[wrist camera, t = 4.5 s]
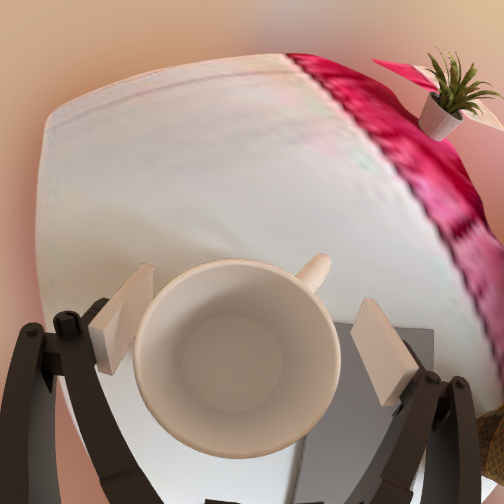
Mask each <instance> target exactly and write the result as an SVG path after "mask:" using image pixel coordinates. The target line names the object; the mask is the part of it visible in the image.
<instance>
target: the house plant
mask: <svg viewBox="0 0 504 504" xmlns="http://www.w3.org/2000/svg"><path fill="white" fill-rule="evenodd" d="M447 52H448V51H447ZM440 53H441V52H440ZM448 53H449V52H448ZM428 55H429V57H430V58H431V60H432V64H433V67H434V69H435V71H436V73H437V74H436V73H435V72H434V71H432V70H430V69H426V70H429V72H430V71H431V72H432V73H434V74H435V75H436V76H435V77H436V79H437V80H438V81H439V85H440V89H439V90H437V91H439V92H440V94H438V93H436V92H430V93H429V95H428V98H427V100H426V103H425V106H424V108H423V111H422V113H421V116H420V118H419V121H418V125H419V127H420V128H421V130H422V131H423V132H424V133H425V134H426V135H427V136H429V137H430V138H431V139H433V140H435V141H441V140H443V139H444V138H445V137H446V136H447V135H448V134H449V133H450V132H451V131H453V130H454V129H455V128H456V127H457V126H458V125H459V124H460V123H462V122H463V116H462V114H461V113H460V112H459V110H461V109H465V110H469V111H471V112H473V113H474V115H475V114H477V113H476V111H475V110H474V109H473V108H471V107H474V108H477V109H479V110H480V108H479V107H478V106H477V105H476V104H475V103H473V102H467V101H470V100H473V99H479V98H490V97H476V96H480V95H485V94H492V95H498V96H500V97H502V96H501V95H499V94H498V93H496V92H493V91H479V92H477V93H474V94H471V95H469V96H467V95H468V93H471V92H473V91H474V90H478V89H479V88H476V86H477V85H478V84H479V83H486V82H480V81H476V82H475V83H473V84H472V85H471V86H470V87H467V86H466V84H467V83H468V82H469V81H470V80H471V78H472V77H474V76H475V74H476V71H477V69H473V67H474V66H473V65H474V64H472V66H471V68H470V70H469V71H468V72H467V73H466V75H465V77H464V79H463V81H462V82H461V84H460V80H461V65H460V61H459V59H458V61H459V70H460V71H459V80H458V67H457V64H456V62H455V60H454V58H453V57H452V56H451V55H450V53H449V55H450V57H451V59H452V61H453V62H452V61H451V62H452V64H451V63H450V64H451V69H450V75H451V82H450V84H449V88H448V86H447V83H446V79H445V76H444V74H443V72H442V70H441V68H440V66H439V65H438V63H437V62H436V60H435V59H434V58H433V57H432V56H431V55H430V54H429V53H428ZM441 55H442V54H441ZM443 58H444V57H443ZM457 58H458V56H457ZM444 61H445V60H444ZM445 64H446V62H445ZM446 68H447V65H446ZM447 73H448V68H447ZM448 81H449V73H448ZM487 84H489V83H487ZM459 85H460V86H459ZM489 85H490V84H489ZM466 87H467V88H466ZM448 93H449V94H448ZM466 96H467V97H466ZM474 97H476V98H474ZM502 98H503V97H502ZM481 112H482V111H481ZM482 115H483V113H482ZM478 117H479V116H478Z"/></svg>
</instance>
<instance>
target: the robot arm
mask: <svg viewBox="0 0 504 504" xmlns="http://www.w3.org/2000/svg"><path fill="white" fill-rule="evenodd" d="M153 288H154V266H153V265H148V264H143V263H142V264H141V265H140V266H139V267H138V269H137V270H136V271H135V272H134V273H133V274H132V275H131V276H130V277H129V278H128V280H127V281H126V282H125V283H124V284H123V285H122V286H121V287H120V289H119V290H118V291H117V292H116V293H115V294H114V295H113V297H112V298H111V299H106V298H102V299H100V300H98V301H96V302H95V303H94V304H93V305H92V306H91V308H89V309H88V310H87V313H85V314H84V315H83V316H82V317H81V318H80V316H79V314H78V313H76V312H74V311H63V312H60V313H58V314H57V315H56V316H55V317H54V319H53V324H54V328H55V331H56V333H46V332H45V331H44V328H43V326H42V325H41V324H38V323H35V322H34V323H29V324H26V325H25V326H23V327H22V329H21V330H20V333H19V336H18V339H17V342H16V345H15V349H14V352H13V356H12V359H11V363H10V367H9V371H8V375H7V379H6V384H5V388H4V394H3V399H2V405H1V411H0V504H61V498H60V491H59V484H58V476H57V468H56V467H57V466H56V452H55V396H56V382H57V375H59V376H65V381H66V385H67V389H68V393H69V397H70V400H71V404H72V407H73V411H74V414H75V417H76V420H77V423H78V426H79V429H80V432H81V435H82V438H83V440H84V443H85V446H86V448H87V451H88V453H89V456H90V458H91V460H92V463H93V465H94V467H95V470H96V472H97V474H98V476H99V479H100V484H101V487H102V489H103V491H104V493H105V495H106V497H107V499H108V501H109V503H110V504H164V503H163V501H162V500H161V498H160V497H159V496H158V494H157V493H156V491H155V490H154V488H153V487H152V485H151V483H150V482H149V480H148V479H147V477H146V476H145V474H144V472H143V471H142V470H141V468H140V467H139V465H138V464H137V462H136V460H135V458H134V456H133V455H132V453H131V451H130V449H129V447H128V445H127V443H126V441H125V439H124V438H123V435H122V433H121V431H120V429H119V427H118V425H117V423H116V421H115V419H114V416H113V414H112V412H111V410H110V407H109V405H108V403H107V400H106V398H105V395H104V393H103V390H102V388H101V385H100V382H99V380H98V377H97V374H96V371H95V368H94V366H95V364H97V368H98V371H99V372H102V373H105V374H108V375H111V376H113V374H114V372H115V370H116V368H117V367H118V365H119V363H120V361H121V359H122V358H123V356H124V354H125V352H126V350H127V349H128V347H129V345H130V343H131V342H132V340H133V338H134V336H135V335H136V333H137V329H138V326H139V324H140V321H141V319H142V317H143V315H144V313H145V311H146V309H147V307H148V306H149V304H150V303H151V301H152V300H153V299H154V293H153ZM350 334H351V336H352V338H353V340H354V342H355V345H356V347H357V349H358V351H359V354H360V356H361V358H362V361H363V363H364V365H365V367H366V370H367V372H368V374H369V377H370V379H371V382H372V384H373V386H374V389H375V391H376V394H377V396H378V399H379V401H380V404H381V406H392V405H394V404H395V402H396V401H397V400H398V398H400V401H401V404H400V405H399V407H398V408H397V409H396V411H395V412H394V413H393V414H392V417H393V416H394V417H393V420H392V422H391V424H390V426H389V428H388V430H387V432H386V434H385V436H384V438H383V440H382V442H381V444H380V446H379V448H378V450H377V452H376V454H375V455H374V457H373V459H372V461H371V463H370V464H369V466H368V468H367V469H366V471H365V473H364V474H363V476H362V478H361V479H360V481H359V482H358V484H357V485H356V487H355V489H354V490H353V492H352V493H351V495H350V496H349V497H348V499H347V500H346V501H345V503H344V504H410V502H411V500H412V497H413V491H410V487H411V484H412V482H413V480H414V477H415V475H416V472H417V469H418V467H419V464H420V461H421V459H422V456H423V453H424V450H425V447H426V444H427V447H426V462H425V472H424V481H423V489H422V496H421V502H420V504H481V460H480V447H479V438H478V430H477V423H476V417H475V411H474V405H473V400H472V395H471V390H470V386H469V384H468V382H467V381H466V380H465V379H464V378H463V377H460V376H455V377H453V378H452V380H451V381H450V383H449V382H443V381H441V379H440V377H439V376H438V375H437V374H436V373H434V372H432V371H426V369H425V368H424V366H423V365H422V363H421V362H420V360H419V358H418V357H417V356H416V354H415V352H413V349H412V348H411V346H410V345H409V344H408V343H407V342H406V341H405V340H403V339H401V338H400V337H399V335H398V334H397V332H396V331H395V329H394V328H393V326H392V325H391V323H390V322H389V320H388V319H387V317H386V316H385V314H384V313H383V312H382V310H381V309H380V307H379V306H378V304H377V303H376V301H375V300H374V299H368V298H364V299H363V302H362V304H361V307H360V310H359V312H358V315H357V317H356V320H355V322H354V324H353V327H352V329H351V332H350ZM205 504H239V503H236V502H225V501H217V500H209V499H205ZM297 504H324V501H322V502H311V503H297Z"/></svg>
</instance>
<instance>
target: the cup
mask: <svg viewBox="0 0 504 504" xmlns="http://www.w3.org/2000/svg"><path fill="white" fill-rule="evenodd" d="M331 266H332V262H331V259H330V258H329V257H328V256H327V255H325V254H318V255H316V256H315V257H314V258H312V259H311V260H310V261H309V262H308V263H307V264H306V265H305V266H304V267H303V269H302V270H301V271H300V272H299V273H298V274H297V275H296V276H293V275H292V274H290V273H288V272H286V271H284V270H282V269H280V268H278V267H275V266H273V265H270V264H267V263H263V262H259V261H254V260H247V259H225V260H218V261H213V262H209V263H205V264H202V265H199V266H196V267H194V268H192V269H190V270H187V271H186V272H184V273H182V274H180V275H179V276H177V277H176V278H174V279H173V280H172V281H170V282H169V283H168V284H167V285H166V286H165V287H163V288H162V290H161V291H160V292H159V293H158V294H157V295H156V296H155V297H154V299H153V300H152V301H151V303H150V304H149V306H148V307H147V309H146V311H145V313H144V315H143V317H142V319H141V321H140V324H139V326H138V329H137V333H136V337H135V343H134V352H133V363H134V373H135V378H136V382H137V386H138V389H139V392H140V394H141V397H142V399H143V401H144V403H145V405H146V407H147V408H148V410H149V411H150V413H151V414H152V416H153V417H154V418H155V420H156V421H157V422H158V423H159V424H160V425H161V426H162V428H163V429H164V430H165V431H167V432H168V433H169V434H170V435H171V436H173V437H174V438H175V439H177V440H178V441H180V442H181V443H183V444H184V445H186V446H188V447H190V448H192V449H194V450H197V451H199V452H202V453H205V454H208V455H211V456H216V457H221V458H230V459H247V458H256V457H261V456H265V455H269V454H272V453H275V452H277V451H280V450H282V449H284V448H286V447H288V446H290V445H292V444H293V443H295V442H297V441H298V440H299V439H301V438H302V437H304V436H305V435H306V434H307V433H308V432H309V431H310V430H311V429H312V428H313V427H314V426H315V425H316V424H317V423H318V422H319V421H320V419H321V418H322V417H323V415H324V414H325V412H326V411H327V409H328V407H329V405H330V403H331V401H332V399H333V397H334V394H335V392H336V389H337V385H338V381H339V376H340V369H341V351H340V344H339V339H338V335H337V331H336V328H335V326H334V323H333V321H332V319H331V316H330V314H329V313H328V311H327V309H326V308H325V306H324V305H323V303H322V302H321V300H320V299H319V298H318V297H317V296H316V294H315V292H316V291H317V289H318V288H319V287H320V285H321V284H322V282H323V281H324V280H325V278H326V277H327V275H328V273H329V272H330V270H331Z"/></svg>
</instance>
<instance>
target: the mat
mask: <svg viewBox="0 0 504 504" xmlns="http://www.w3.org/2000/svg"><path fill="white" fill-rule="evenodd" d="M334 326H335V328H336V331H337V335H338V339H339V344H340V351H341V369H340V376H339V381H338V385H337V389H336V392H335V394H334V397H333V399H332V401H331V403H330V405H329V407H328V409H327V411H326V412H325V414H324V415H323V417H322V418H321V419H320V421H319V422H318V423H317V424H316V425H315V426H314V427H313V428H312V429H311V430H310V431H309V432H308V433H307V434H306V435H305V438H304V444H303V450H302V456H301V461H300V466H299V472H298V477H297V482H296V486H295V491H294V495H293V500H292V504H297V503H311V502H322V501H324V504H344V503H345V501H346V500H347V499H348V497H349V496H350V495H351V493H352V492H353V490H354V489H355V487H356V485H357V484H358V482H359V481H360V479H361V478H362V476H363V474H364V473H365V471H366V469H367V468H368V466H369V464H370V463H371V461H372V459H373V457H374V455H375V454H376V452H377V450H378V448H379V446H380V444H381V442H382V440H383V438H384V436H385V434H386V432H387V430H388V428H389V426H390V424H391V422H392V420H393V417H394V416H393V417H392V414H393V413H394V412H395V411H396V409H397V408H398V407H399V405H400V404H401V401H400V398H398V400H397V401H396V402H395V404H394V405H392V406H381V404H380V401H379V399H378V396H377V394H376V391H375V389H374V386H373V384H372V382H371V379H370V377H369V374H368V372H367V370H366V367H365V365H364V363H363V361H362V358H361V356H360V354H359V351H358V349H357V347H356V345H355V342H354V340H353V338H352V336H351V334H350V332H351V329H352V327H353V325H349V324H338V323H334ZM394 329H395V331H396V332H397V334H398V335H399V337H400V338H401V339H403V340H405V341H406V342H407V343H408V344H409V345H410V346H411V348H412V349H413V352H415V354H416V356H417V357H418V358H419V360H420V362H421V363H422V365H423V366H424V368H425V369H426V371H432V372H433V353H434V330H430V329H406V328H394ZM418 468H419V467H418ZM417 472H418V469H417ZM417 472H416V475H415V477H414V480H413V482H412V484H411V487H410V491H412V490H413V487H414V483H415V480H416V476H417Z"/></svg>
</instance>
